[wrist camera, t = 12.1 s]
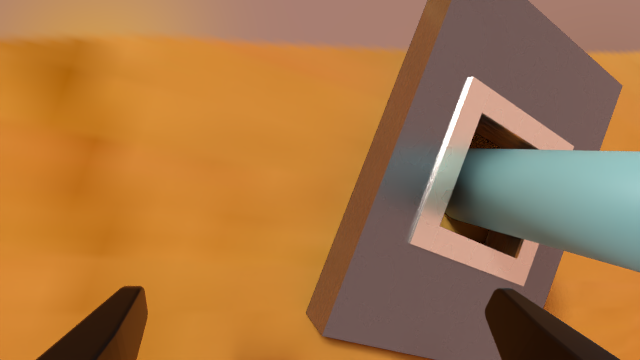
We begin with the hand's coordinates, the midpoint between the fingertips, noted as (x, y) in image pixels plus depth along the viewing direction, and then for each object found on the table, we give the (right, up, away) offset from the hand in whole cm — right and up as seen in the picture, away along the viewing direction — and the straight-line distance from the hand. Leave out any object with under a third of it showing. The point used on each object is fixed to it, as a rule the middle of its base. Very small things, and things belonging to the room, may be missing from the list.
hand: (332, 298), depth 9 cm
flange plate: (+10, +3, +15) cm, 18 cm away
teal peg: (+10, +3, +15) cm, 18 cm away
